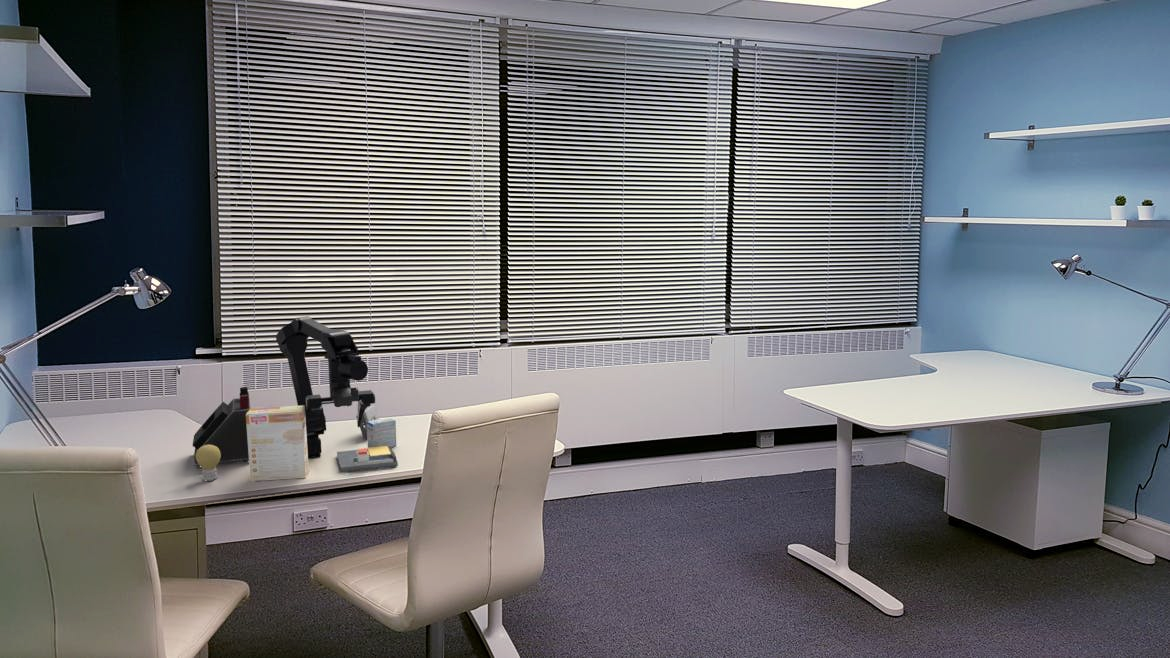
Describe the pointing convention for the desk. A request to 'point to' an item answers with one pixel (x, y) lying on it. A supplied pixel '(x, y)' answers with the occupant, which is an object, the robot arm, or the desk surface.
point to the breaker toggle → (362, 455)
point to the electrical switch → (368, 419)
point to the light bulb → (208, 461)
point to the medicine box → (381, 432)
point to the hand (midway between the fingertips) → (342, 428)
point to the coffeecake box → (277, 443)
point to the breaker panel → (375, 462)
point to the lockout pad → (378, 450)
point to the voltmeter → (227, 429)
